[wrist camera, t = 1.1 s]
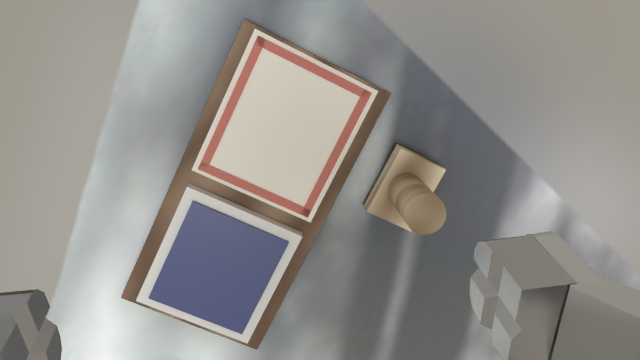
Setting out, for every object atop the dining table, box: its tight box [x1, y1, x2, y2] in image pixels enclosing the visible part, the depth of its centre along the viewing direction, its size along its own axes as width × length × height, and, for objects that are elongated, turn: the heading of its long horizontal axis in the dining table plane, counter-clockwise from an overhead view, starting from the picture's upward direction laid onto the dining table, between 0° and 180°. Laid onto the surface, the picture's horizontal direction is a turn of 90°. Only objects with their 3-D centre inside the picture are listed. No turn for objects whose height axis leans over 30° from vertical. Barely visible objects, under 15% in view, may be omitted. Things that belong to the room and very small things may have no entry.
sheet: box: [192, 29, 378, 223], centre depth 49 cm, size 13×14×1 cm
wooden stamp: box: [363, 143, 447, 235], centre depth 48 cm, size 5×7×9 cm
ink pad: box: [136, 183, 302, 343], centre depth 51 cm, size 12×13×2 cm
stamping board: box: [121, 19, 390, 349], centre depth 51 cm, size 15×30×1 cm, turn 153°
